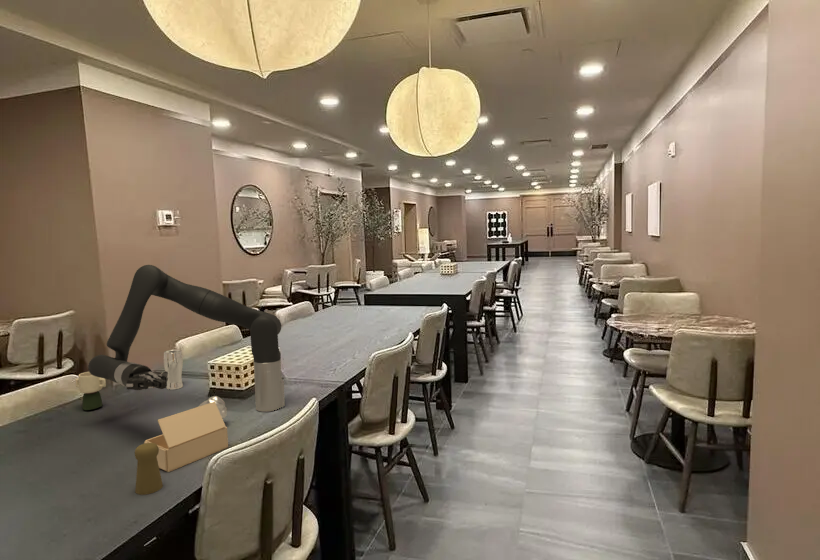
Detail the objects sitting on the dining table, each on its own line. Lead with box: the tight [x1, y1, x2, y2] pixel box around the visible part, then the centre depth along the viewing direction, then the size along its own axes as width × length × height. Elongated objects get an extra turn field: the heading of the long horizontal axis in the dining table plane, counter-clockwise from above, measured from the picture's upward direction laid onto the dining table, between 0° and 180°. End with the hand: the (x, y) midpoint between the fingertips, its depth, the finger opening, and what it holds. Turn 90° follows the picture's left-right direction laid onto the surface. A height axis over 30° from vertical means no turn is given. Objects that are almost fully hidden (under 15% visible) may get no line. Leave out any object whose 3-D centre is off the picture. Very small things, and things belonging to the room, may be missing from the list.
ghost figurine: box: [198, 395, 228, 420], centre depth 162 cm, size 9×10×10 cm
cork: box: [134, 443, 164, 496], centre depth 123 cm, size 6×6×11 cm
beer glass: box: [163, 349, 184, 391], centre depth 205 cm, size 7×7×15 cm
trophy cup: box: [75, 371, 107, 411], centre depth 181 cm, size 11×7×13 cm, turn 88°
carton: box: [143, 426, 229, 473], centre depth 142 cm, size 19×12×6 cm, turn 146°
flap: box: [157, 402, 227, 448], centre depth 139 cm, size 17×1×8 cm
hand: (163, 385), depth 146 cm, fingers closed
